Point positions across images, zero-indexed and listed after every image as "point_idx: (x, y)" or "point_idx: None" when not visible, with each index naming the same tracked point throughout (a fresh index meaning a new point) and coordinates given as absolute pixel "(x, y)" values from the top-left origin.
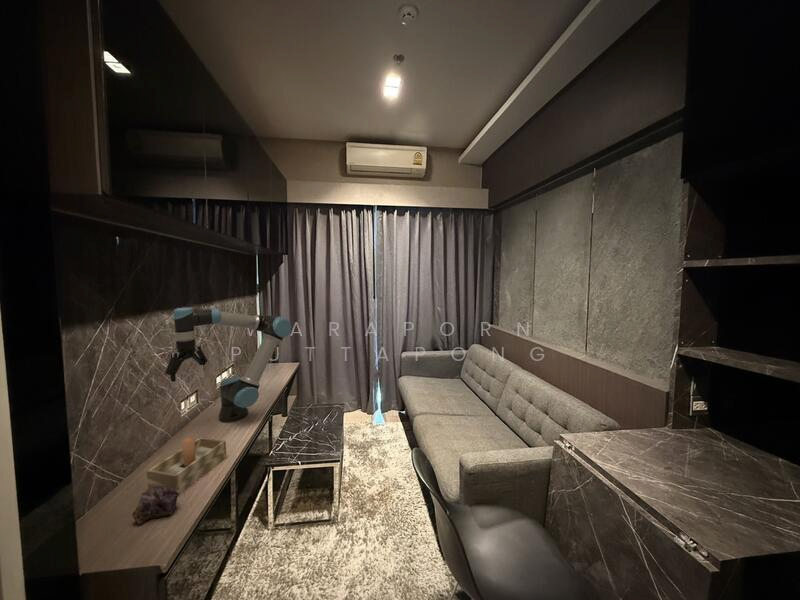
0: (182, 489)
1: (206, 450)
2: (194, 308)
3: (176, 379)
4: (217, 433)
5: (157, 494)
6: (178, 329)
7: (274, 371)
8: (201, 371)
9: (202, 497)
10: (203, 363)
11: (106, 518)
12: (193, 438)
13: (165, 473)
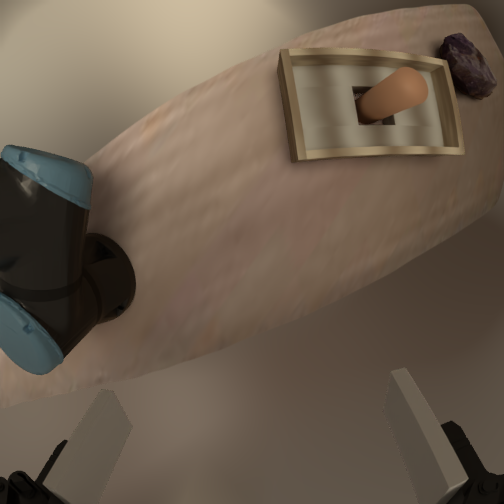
0: None
1: (309, 114)
2: None
3: (443, 432)
4: (187, 225)
5: (478, 59)
6: None
7: None
8: (91, 443)
9: (399, 21)
10: (32, 492)
11: (489, 159)
12: (399, 68)
13: (452, 94)
